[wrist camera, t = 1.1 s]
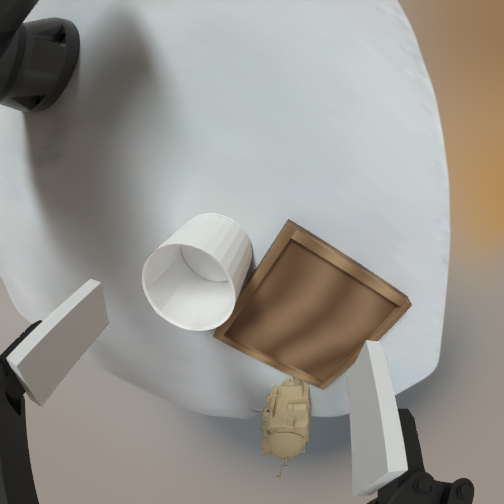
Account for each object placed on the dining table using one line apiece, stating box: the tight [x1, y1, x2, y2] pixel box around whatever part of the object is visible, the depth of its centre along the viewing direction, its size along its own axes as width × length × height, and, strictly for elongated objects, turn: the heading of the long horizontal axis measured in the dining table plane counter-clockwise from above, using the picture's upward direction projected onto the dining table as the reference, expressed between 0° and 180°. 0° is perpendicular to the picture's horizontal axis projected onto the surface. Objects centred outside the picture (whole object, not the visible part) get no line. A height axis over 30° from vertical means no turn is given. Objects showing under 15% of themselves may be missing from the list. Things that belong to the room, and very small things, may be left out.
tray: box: [213, 219, 412, 389], centre depth 34 cm, size 18×18×2 cm
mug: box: [142, 213, 252, 331], centre depth 29 cm, size 12×9×9 cm
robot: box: [259, 377, 311, 477], centre depth 35 cm, size 10×8×15 cm
